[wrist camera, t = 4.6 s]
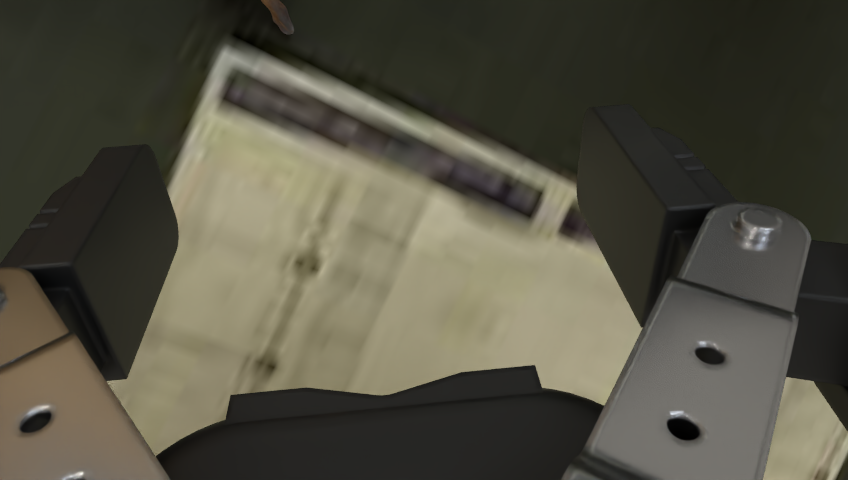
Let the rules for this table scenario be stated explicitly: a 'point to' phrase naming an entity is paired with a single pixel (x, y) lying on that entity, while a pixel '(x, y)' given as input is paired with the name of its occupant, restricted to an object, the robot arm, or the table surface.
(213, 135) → the table surface
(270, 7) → the lion figurine
